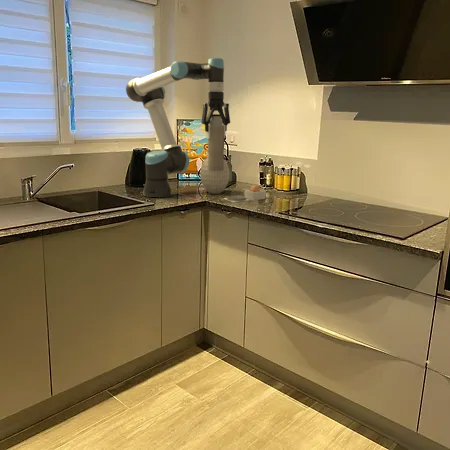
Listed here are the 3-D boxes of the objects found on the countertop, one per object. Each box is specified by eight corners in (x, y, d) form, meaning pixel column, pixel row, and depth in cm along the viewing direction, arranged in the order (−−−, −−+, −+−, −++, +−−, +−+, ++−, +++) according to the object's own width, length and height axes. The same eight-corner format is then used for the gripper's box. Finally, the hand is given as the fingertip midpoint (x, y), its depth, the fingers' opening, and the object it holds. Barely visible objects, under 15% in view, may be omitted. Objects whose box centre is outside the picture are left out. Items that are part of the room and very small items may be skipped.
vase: (226, 195, 253) (227, 154, 247) (197, 194, 255) (197, 153, 250) (231, 190, 268) (231, 151, 263) (203, 189, 271) (203, 150, 265)
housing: (244, 197, 249) (244, 190, 248) (256, 196, 253) (257, 188, 252) (253, 200, 242) (253, 192, 241) (265, 198, 246) (265, 191, 245)
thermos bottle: (223, 169, 243) (224, 114, 236) (223, 171, 236) (223, 114, 229) (208, 169, 244) (208, 114, 237) (207, 171, 236) (207, 114, 229)
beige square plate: (223, 198, 245) (223, 197, 244) (239, 197, 250) (239, 196, 249) (233, 202, 236) (233, 201, 236) (249, 200, 241) (249, 199, 241)
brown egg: (249, 193, 248) (249, 185, 247) (256, 192, 250) (256, 185, 249) (254, 194, 244) (254, 187, 243) (261, 193, 246) (261, 186, 245)
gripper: (200, 90, 222) (201, 139, 227) (238, 91, 232) (237, 138, 237) (193, 91, 228) (194, 138, 234) (230, 91, 238) (229, 137, 244)
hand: (215, 138), depth 236 cm, fingers closed on thermos bottle, 8 cm apart
